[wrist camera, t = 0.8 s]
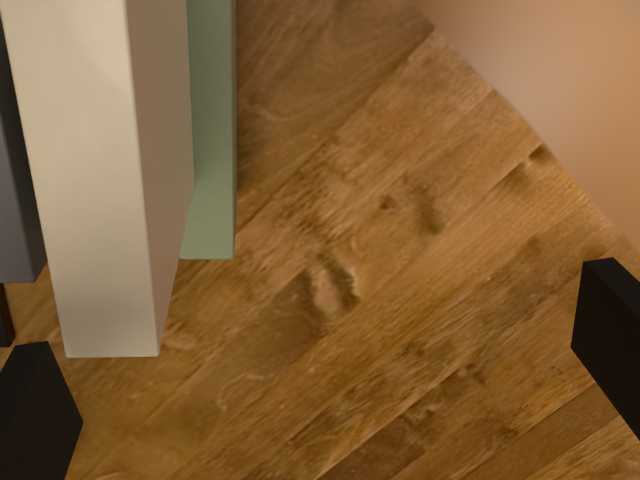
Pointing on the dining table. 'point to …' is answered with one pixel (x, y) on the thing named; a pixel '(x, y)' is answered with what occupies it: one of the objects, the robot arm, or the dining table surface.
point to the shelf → (208, 151)
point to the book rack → (5, 322)
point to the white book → (106, 159)
